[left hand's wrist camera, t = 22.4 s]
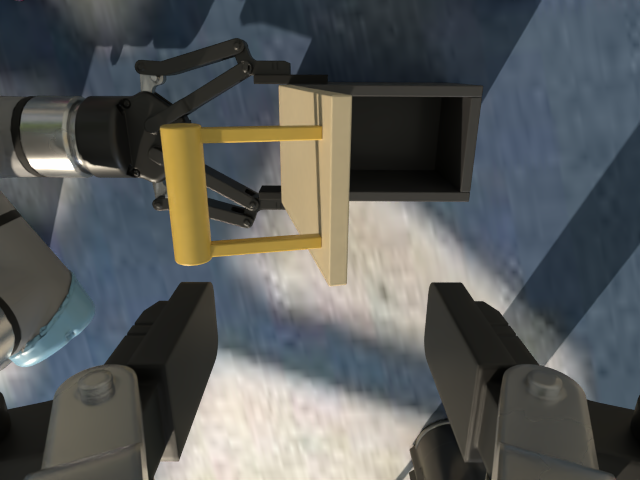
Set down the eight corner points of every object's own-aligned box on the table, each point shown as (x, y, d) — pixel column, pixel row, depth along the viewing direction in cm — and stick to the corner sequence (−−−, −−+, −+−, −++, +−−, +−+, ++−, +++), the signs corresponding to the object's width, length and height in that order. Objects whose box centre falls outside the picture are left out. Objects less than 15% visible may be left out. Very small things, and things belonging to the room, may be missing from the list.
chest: (449, 82, 47) (483, 85, 37) (440, 176, 50) (469, 202, 41) (292, 81, 47) (285, 84, 37) (294, 175, 50) (287, 200, 41)
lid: (352, 94, 21) (150, 96, 19) (347, 285, 25) (175, 302, 23) (291, 84, 37) (176, 84, 35) (292, 202, 40) (188, 208, 38)
